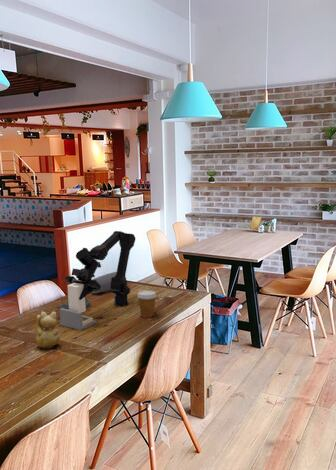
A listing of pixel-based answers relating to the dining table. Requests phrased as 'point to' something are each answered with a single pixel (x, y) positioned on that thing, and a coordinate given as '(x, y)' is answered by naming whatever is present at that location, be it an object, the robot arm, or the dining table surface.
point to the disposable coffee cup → (147, 302)
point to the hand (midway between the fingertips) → (74, 298)
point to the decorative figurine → (47, 330)
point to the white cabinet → (76, 297)
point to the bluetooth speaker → (104, 282)
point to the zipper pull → (66, 306)
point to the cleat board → (75, 319)
